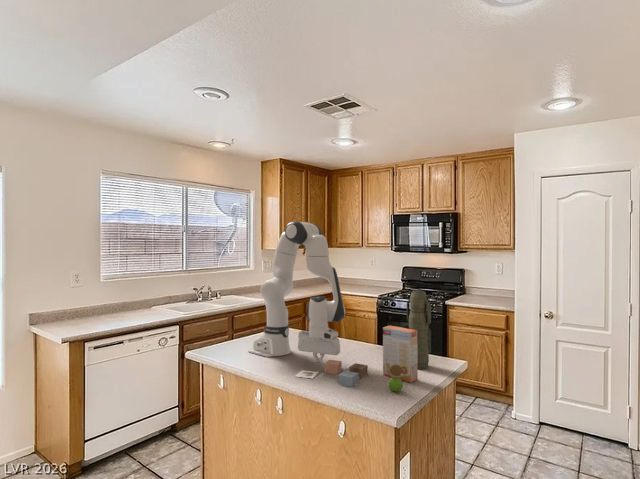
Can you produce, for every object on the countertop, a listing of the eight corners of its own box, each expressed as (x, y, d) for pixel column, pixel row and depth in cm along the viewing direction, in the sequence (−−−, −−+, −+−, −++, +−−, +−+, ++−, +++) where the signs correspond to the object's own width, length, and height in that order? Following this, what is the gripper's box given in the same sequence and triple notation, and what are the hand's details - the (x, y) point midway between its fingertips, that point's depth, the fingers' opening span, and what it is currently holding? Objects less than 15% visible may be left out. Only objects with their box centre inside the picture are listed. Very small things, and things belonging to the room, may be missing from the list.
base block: (349, 376, 167) (349, 366, 167) (355, 372, 172) (355, 363, 172) (361, 378, 164) (361, 369, 164) (367, 374, 169) (367, 365, 169)
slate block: (338, 384, 157) (338, 374, 157) (345, 380, 162) (345, 370, 162) (351, 387, 154) (351, 377, 154) (358, 382, 159) (358, 373, 159)
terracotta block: (324, 372, 172) (324, 363, 172) (329, 368, 177) (329, 359, 177) (337, 374, 170) (337, 365, 170) (341, 369, 175) (341, 361, 175)
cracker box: (418, 379, 162) (418, 329, 162) (410, 383, 158) (410, 332, 158) (390, 371, 172) (390, 324, 172) (382, 375, 168) (382, 326, 168)
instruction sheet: (294, 376, 166) (294, 375, 166) (301, 370, 173) (301, 370, 173) (312, 379, 163) (312, 378, 163) (318, 372, 171) (318, 371, 171)
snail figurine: (386, 387, 153) (386, 357, 153) (403, 389, 151) (403, 358, 151) (385, 392, 148) (384, 361, 148) (402, 394, 146) (402, 363, 146)
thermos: (427, 371, 172) (427, 292, 172) (402, 366, 179) (402, 290, 179) (434, 366, 179) (434, 290, 179) (410, 361, 186) (410, 288, 186)
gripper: (295, 331, 179) (295, 361, 179) (336, 335, 170) (336, 367, 170) (301, 328, 185) (302, 357, 185) (341, 332, 176) (341, 363, 176)
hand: (318, 362), depth 177 cm, fingers closed
